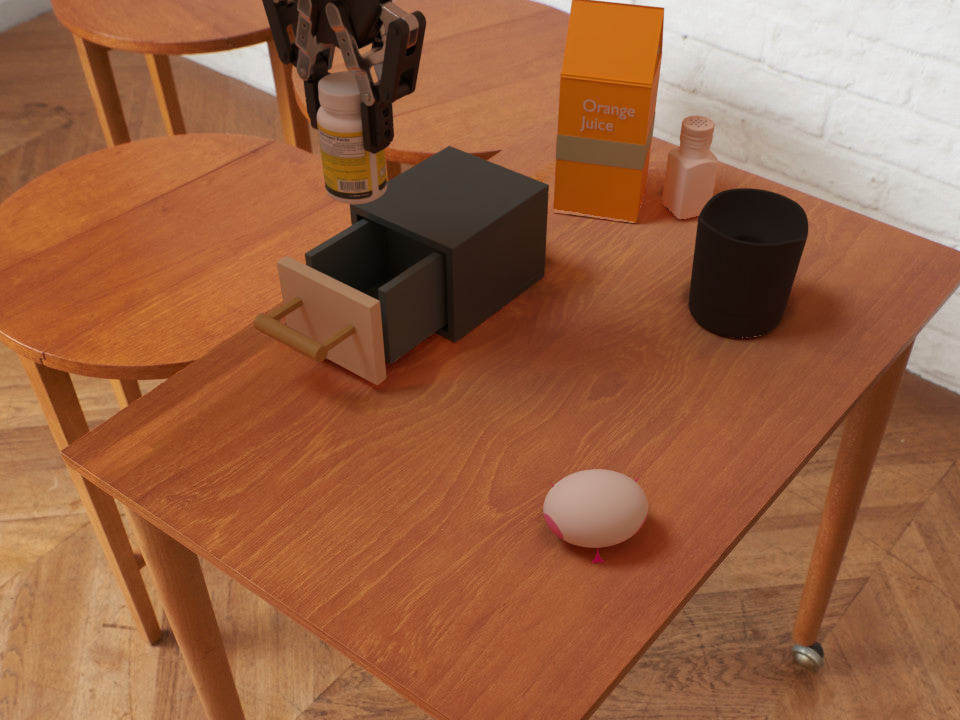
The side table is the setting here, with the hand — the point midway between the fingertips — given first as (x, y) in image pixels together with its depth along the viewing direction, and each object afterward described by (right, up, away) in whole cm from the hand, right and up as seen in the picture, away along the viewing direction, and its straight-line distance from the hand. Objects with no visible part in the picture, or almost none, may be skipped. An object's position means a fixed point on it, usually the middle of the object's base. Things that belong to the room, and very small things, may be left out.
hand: (351, 136), depth 78 cm
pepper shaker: (+30, +4, +32) cm, 44 cm away
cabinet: (+6, -6, +21) cm, 23 cm away
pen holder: (+32, -10, +19) cm, 39 cm away
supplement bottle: (0, -3, +3) cm, 5 cm away
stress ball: (+18, -29, 0) cm, 34 cm away
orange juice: (+21, +5, +33) cm, 40 cm away
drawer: (-1, -13, +14) cm, 19 cm away
